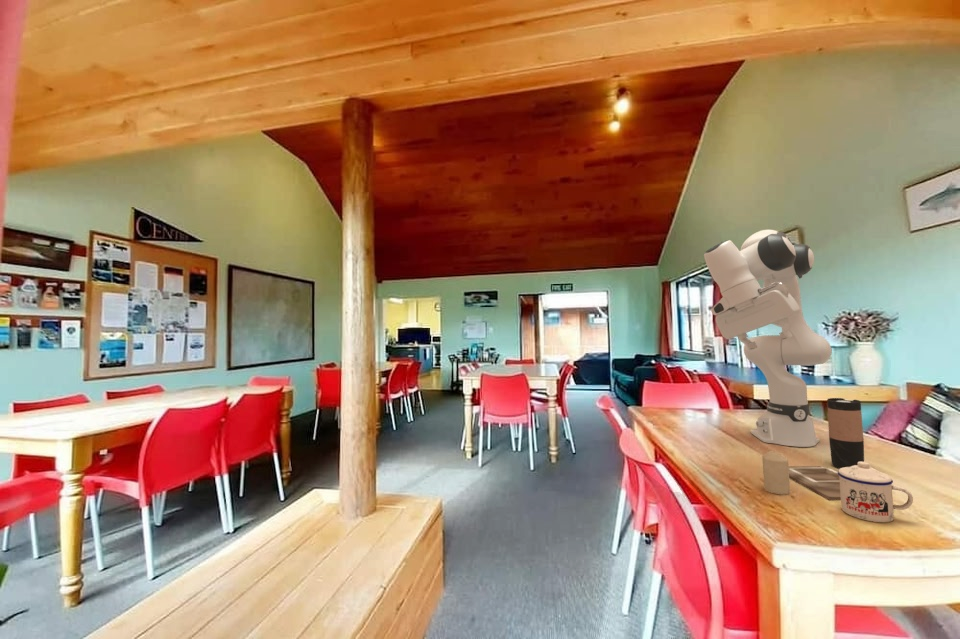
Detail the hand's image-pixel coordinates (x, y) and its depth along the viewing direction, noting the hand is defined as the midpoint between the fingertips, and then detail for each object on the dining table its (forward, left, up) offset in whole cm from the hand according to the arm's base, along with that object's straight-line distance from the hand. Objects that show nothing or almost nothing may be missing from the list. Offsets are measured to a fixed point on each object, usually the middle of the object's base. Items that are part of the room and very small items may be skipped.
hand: (769, 343), depth 105 cm
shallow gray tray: (-8, +16, -39) cm, 43 cm away
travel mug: (-19, +31, -39) cm, 53 cm away
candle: (-2, +1, -39) cm, 39 cm away
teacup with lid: (+12, +13, -39) cm, 43 cm away
